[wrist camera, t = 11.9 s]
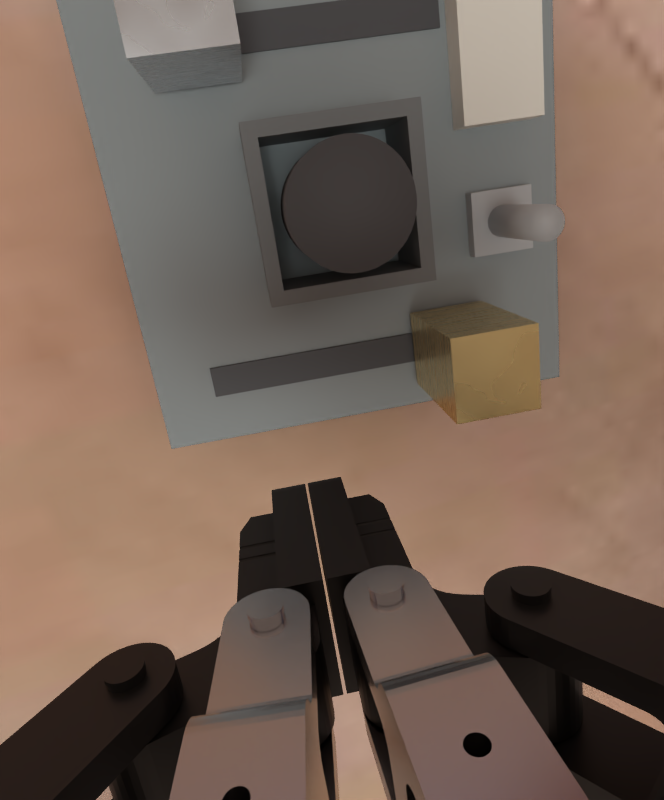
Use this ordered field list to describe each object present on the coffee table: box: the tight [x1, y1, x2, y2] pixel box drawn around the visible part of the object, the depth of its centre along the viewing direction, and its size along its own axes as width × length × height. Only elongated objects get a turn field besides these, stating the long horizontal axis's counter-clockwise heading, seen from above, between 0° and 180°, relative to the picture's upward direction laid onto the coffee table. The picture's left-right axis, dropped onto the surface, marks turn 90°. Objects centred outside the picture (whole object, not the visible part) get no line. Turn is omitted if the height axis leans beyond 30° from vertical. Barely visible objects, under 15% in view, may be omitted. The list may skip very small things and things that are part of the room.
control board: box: [56, 0, 565, 449], centre depth 21 cm, size 17×17×6 cm
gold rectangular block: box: [410, 301, 541, 424], centre depth 22 cm, size 3×3×5 cm
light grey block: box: [113, 0, 242, 94], centre depth 17 cm, size 3×3×5 cm
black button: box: [281, 133, 417, 273], centre depth 19 cm, size 4×4×3 cm
